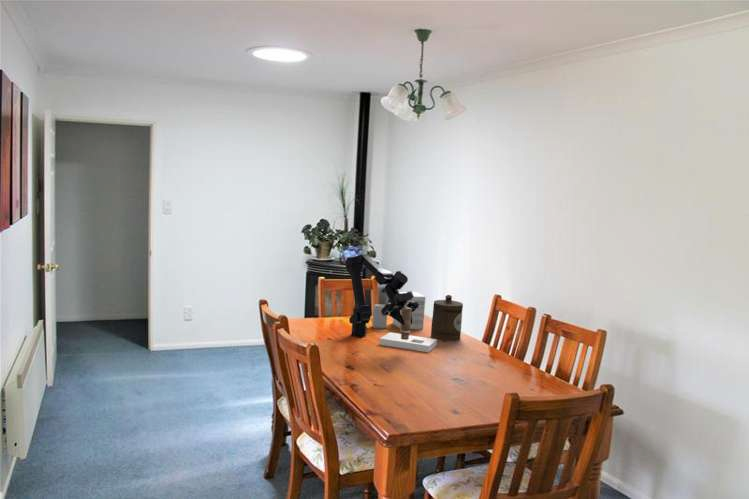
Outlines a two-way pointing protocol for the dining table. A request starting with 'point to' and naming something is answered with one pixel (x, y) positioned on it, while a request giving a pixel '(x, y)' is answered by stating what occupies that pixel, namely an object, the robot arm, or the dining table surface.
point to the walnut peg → (406, 323)
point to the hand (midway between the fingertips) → (407, 324)
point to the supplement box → (415, 312)
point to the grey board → (408, 342)
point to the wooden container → (446, 319)
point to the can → (379, 317)
